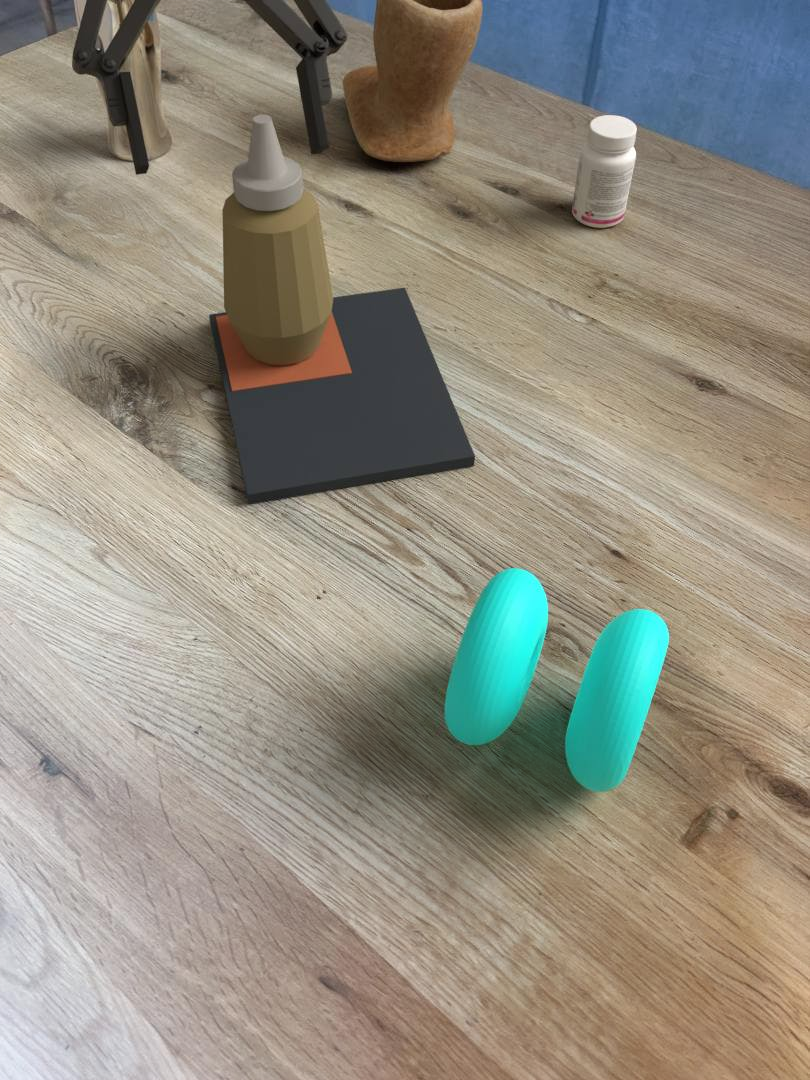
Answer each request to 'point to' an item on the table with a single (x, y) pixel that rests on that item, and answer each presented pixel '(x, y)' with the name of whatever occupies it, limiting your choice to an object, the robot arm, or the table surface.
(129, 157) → the chrome sculpted vase
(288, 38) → the robot arm
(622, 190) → the pill bottle
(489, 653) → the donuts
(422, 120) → the stone cup
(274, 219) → the squeeze bottle
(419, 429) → the mat
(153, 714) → the table surface
